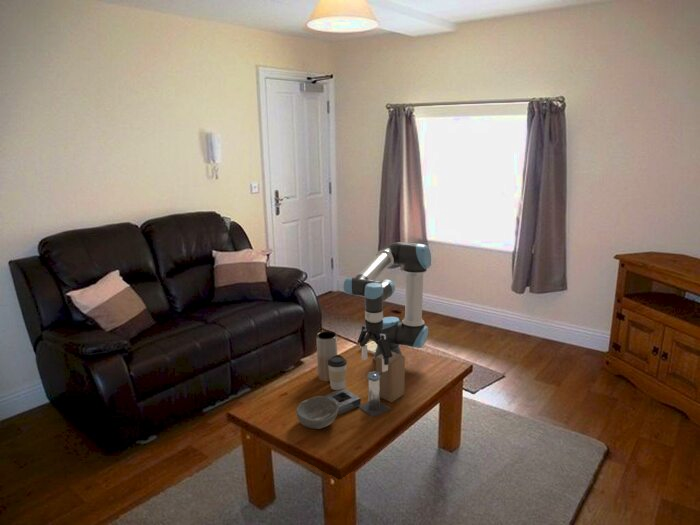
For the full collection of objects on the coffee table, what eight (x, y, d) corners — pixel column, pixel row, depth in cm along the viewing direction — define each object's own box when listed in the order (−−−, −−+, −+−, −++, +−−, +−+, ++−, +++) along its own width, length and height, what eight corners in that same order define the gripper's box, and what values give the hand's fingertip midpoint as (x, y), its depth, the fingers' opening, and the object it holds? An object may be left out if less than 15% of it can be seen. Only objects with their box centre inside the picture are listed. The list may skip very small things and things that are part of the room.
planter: (341, 377, 247) (340, 335, 241) (324, 383, 242) (323, 340, 236) (331, 370, 255) (329, 329, 249) (314, 375, 250) (312, 333, 244)
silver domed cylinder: (375, 402, 223) (374, 369, 219) (383, 407, 219) (383, 375, 214) (364, 406, 220) (364, 374, 215) (373, 412, 215) (373, 379, 211)
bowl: (304, 440, 198) (303, 423, 195) (291, 418, 213) (290, 401, 211) (345, 429, 204) (345, 412, 202) (330, 408, 220) (329, 392, 218)
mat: (375, 400, 226) (375, 399, 226) (390, 409, 219) (390, 408, 218) (358, 407, 220) (358, 406, 220) (373, 417, 213) (373, 416, 212)
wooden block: (374, 395, 230) (374, 356, 225) (388, 387, 237) (388, 349, 232) (391, 403, 223) (392, 363, 218) (405, 394, 230) (405, 355, 225)
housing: (344, 394, 231) (344, 387, 230) (360, 405, 222) (360, 398, 221) (323, 403, 224) (323, 396, 223) (339, 414, 215) (338, 407, 214)
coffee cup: (344, 392, 234) (344, 363, 230) (326, 390, 235) (325, 361, 231) (348, 382, 242) (348, 354, 238) (330, 381, 244) (330, 353, 240)
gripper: (348, 313, 216) (350, 357, 222) (387, 331, 197) (387, 378, 202) (362, 309, 220) (363, 352, 226) (401, 326, 201) (400, 373, 207)
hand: (374, 365), depth 214 cm, fingers open, 13 cm apart
